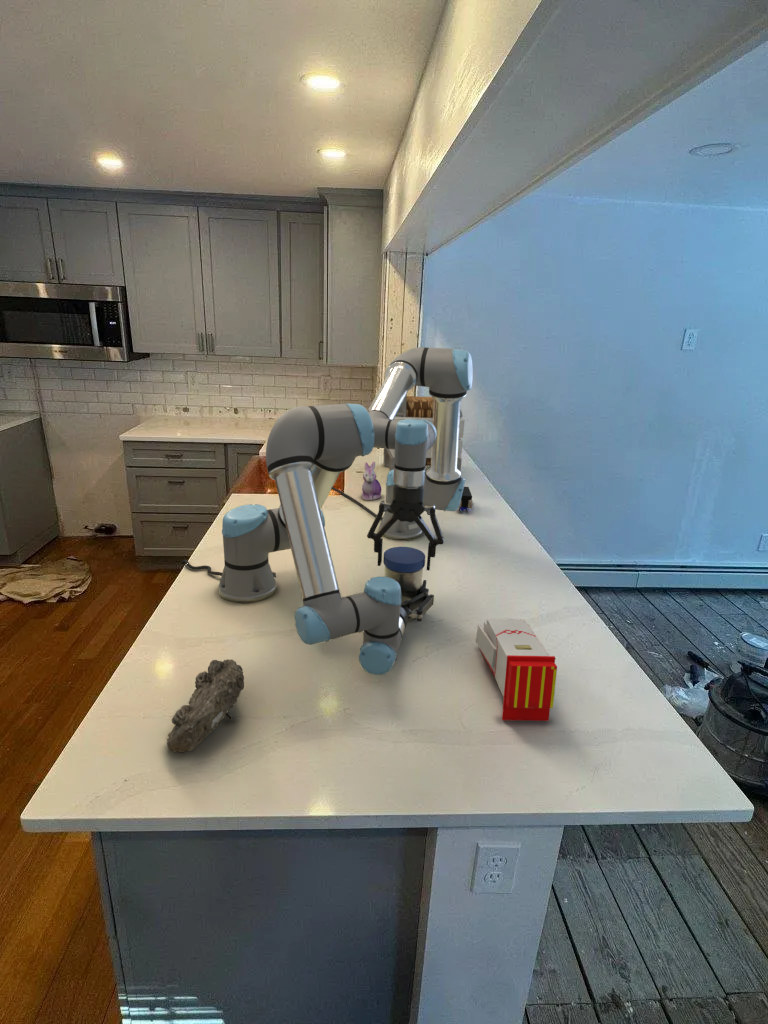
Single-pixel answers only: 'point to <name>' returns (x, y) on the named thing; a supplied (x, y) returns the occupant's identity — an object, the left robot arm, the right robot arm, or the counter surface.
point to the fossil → (206, 705)
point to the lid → (404, 559)
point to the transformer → (420, 411)
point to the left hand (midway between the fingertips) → (405, 582)
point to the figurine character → (466, 500)
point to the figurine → (370, 483)
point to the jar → (407, 583)
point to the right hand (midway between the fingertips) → (403, 566)
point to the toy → (519, 668)
